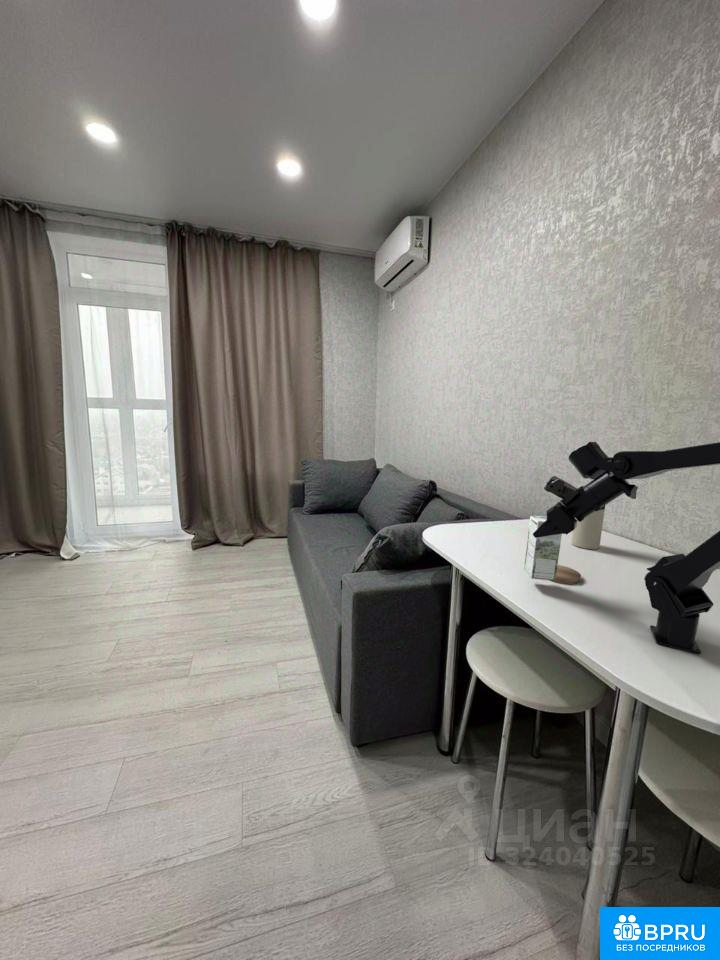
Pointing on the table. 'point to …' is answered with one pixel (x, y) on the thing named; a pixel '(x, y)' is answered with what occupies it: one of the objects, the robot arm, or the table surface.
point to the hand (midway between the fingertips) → (537, 532)
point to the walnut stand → (567, 575)
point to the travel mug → (589, 531)
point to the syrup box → (541, 552)
